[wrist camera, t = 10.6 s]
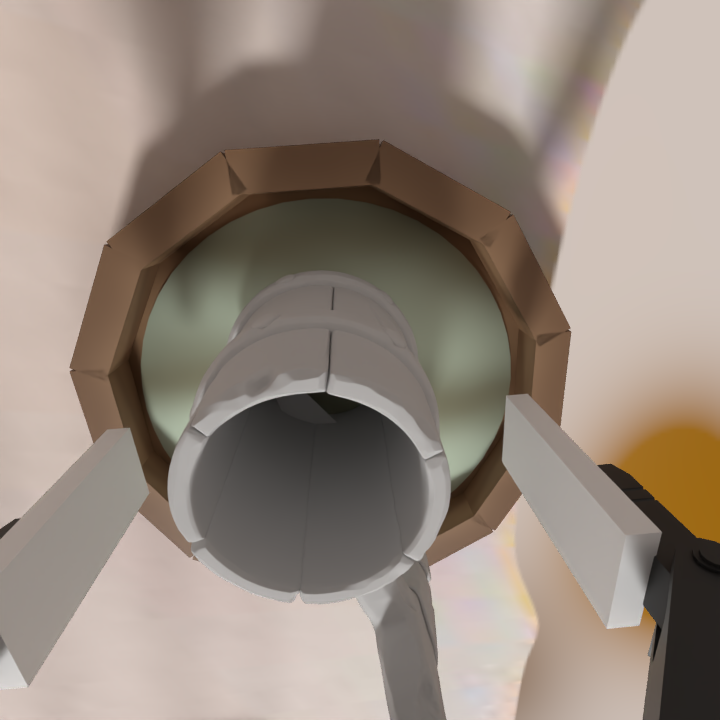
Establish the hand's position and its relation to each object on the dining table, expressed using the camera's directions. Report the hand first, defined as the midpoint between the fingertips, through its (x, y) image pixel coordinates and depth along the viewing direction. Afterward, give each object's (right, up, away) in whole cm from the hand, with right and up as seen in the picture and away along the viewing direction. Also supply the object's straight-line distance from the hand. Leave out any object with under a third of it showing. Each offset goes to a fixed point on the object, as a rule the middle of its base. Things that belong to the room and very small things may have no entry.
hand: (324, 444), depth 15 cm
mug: (+1, +2, +5) cm, 5 cm away
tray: (0, +2, +5) cm, 6 cm away
